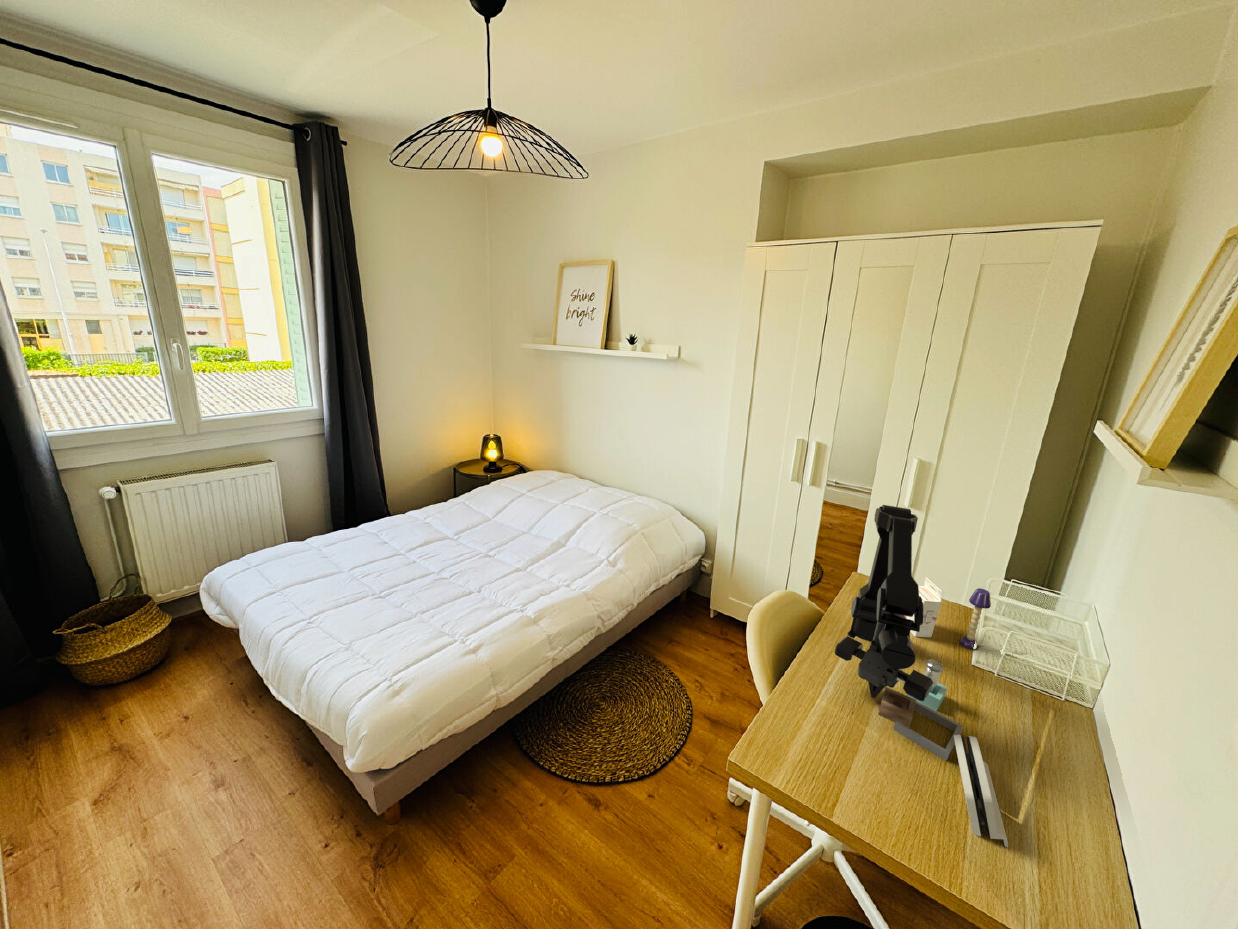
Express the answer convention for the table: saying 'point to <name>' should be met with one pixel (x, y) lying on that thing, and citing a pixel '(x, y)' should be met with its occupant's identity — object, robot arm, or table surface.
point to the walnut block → (897, 707)
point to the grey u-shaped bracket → (926, 742)
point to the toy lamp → (976, 615)
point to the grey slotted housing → (980, 777)
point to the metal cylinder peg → (933, 672)
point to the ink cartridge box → (928, 608)
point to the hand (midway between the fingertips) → (873, 697)
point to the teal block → (934, 697)
